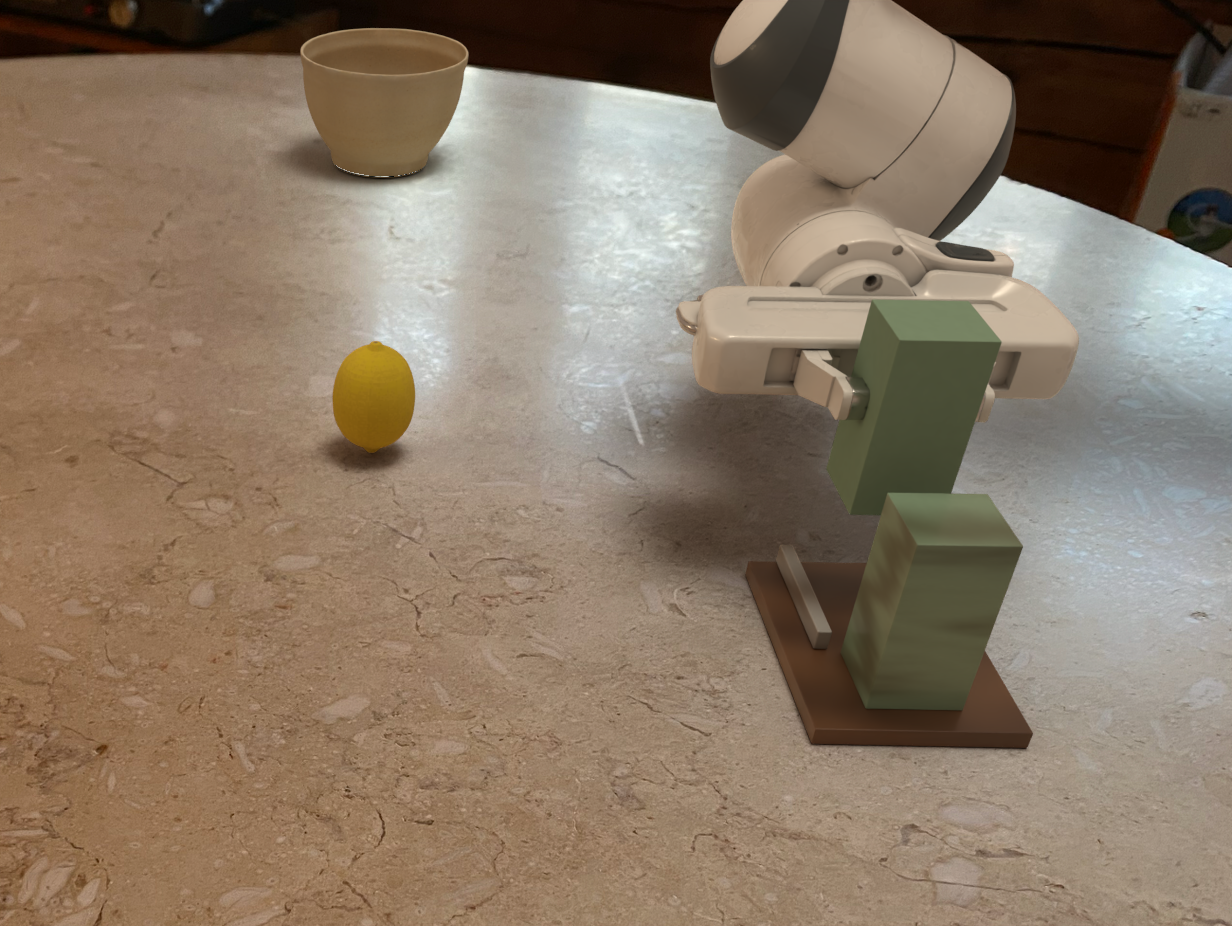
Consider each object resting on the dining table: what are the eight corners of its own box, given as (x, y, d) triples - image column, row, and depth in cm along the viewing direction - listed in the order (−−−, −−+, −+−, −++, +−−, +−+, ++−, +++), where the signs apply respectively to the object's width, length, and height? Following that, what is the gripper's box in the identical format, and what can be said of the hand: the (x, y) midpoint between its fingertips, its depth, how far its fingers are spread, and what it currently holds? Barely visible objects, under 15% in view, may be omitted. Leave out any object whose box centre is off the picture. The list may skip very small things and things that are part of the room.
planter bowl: (279, 182, 143) (279, 64, 136) (324, 133, 155) (326, 22, 148) (441, 199, 139) (449, 78, 132) (473, 147, 151) (483, 34, 144)
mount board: (744, 574, 88) (783, 407, 81) (930, 577, 87) (985, 410, 80) (811, 744, 75) (864, 563, 68) (1027, 748, 75) (1102, 567, 68)
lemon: (391, 427, 103) (396, 319, 98) (425, 463, 99) (433, 352, 94) (318, 441, 101) (320, 332, 96) (350, 478, 97) (354, 366, 92)
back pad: (825, 469, 82) (871, 298, 76) (915, 471, 82) (968, 300, 76) (849, 515, 78) (899, 339, 72) (943, 517, 78) (1002, 341, 72)
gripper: (679, 247, 85) (727, 349, 74) (1035, 252, 84) (1135, 355, 74) (661, 348, 89) (704, 459, 78) (1001, 354, 88) (1091, 466, 78)
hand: (916, 409), depth 76 cm, fingers closed on back pad, 5 cm apart
